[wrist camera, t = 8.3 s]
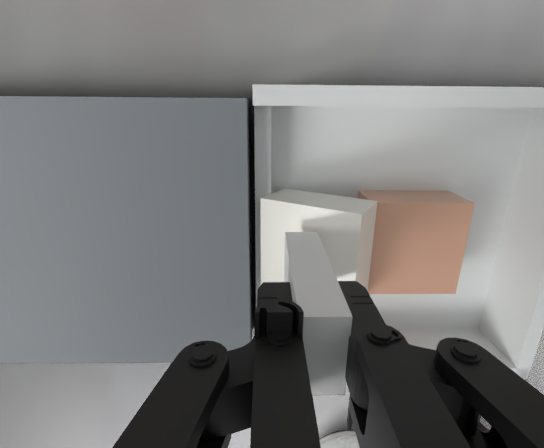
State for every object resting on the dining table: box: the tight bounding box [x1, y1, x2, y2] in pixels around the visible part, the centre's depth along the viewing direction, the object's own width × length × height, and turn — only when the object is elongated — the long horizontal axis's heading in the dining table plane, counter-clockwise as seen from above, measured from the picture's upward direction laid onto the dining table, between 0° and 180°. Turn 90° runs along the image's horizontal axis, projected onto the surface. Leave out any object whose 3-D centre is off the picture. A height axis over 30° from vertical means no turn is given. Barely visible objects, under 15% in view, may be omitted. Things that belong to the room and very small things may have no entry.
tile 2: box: [261, 188, 378, 291], centre depth 17 cm, size 5×5×2 cm
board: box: [0, 96, 252, 364], centre depth 18 cm, size 15×14×3 cm
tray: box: [252, 84, 544, 380], centre depth 18 cm, size 15×15×4 cm
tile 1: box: [358, 190, 475, 294], centre depth 18 cm, size 5×5×2 cm
